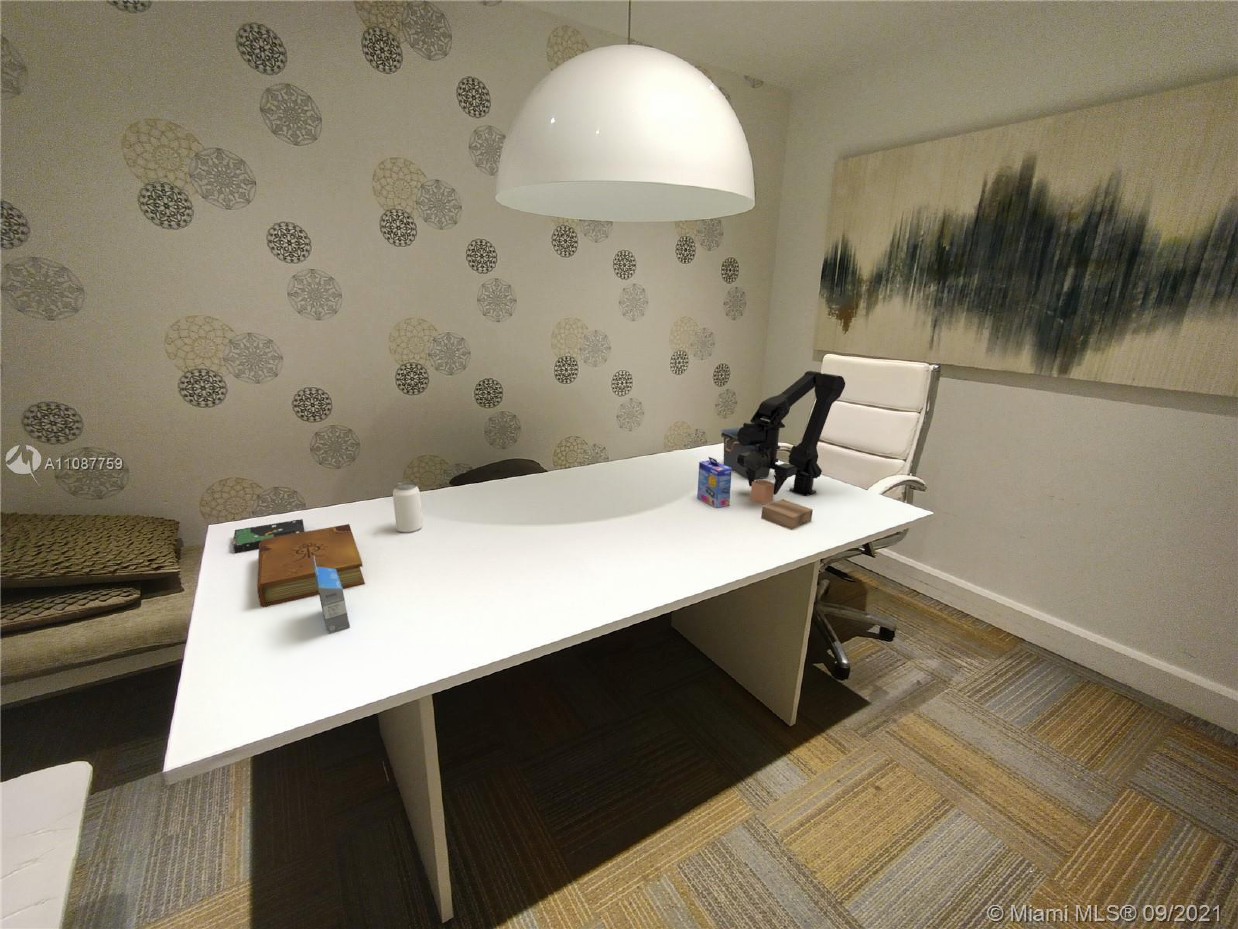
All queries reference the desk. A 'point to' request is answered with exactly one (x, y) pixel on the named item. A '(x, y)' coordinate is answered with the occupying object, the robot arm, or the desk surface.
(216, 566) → the desk surface
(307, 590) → the diary
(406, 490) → the can
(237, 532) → the disk drive
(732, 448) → the storage bin
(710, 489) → the ink cartridge box
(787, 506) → the walnut block
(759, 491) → the terracotta box
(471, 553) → the desk surface
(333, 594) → the label tape box
